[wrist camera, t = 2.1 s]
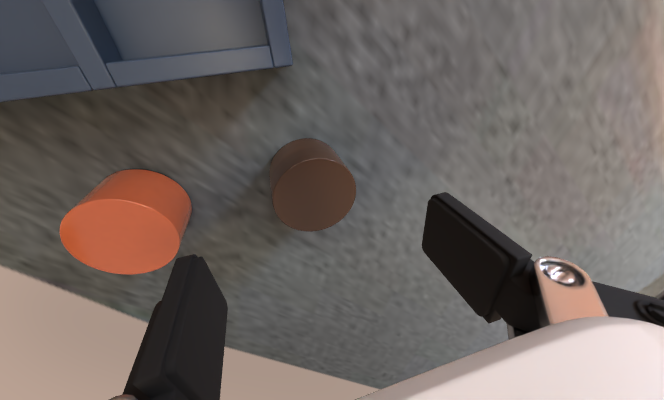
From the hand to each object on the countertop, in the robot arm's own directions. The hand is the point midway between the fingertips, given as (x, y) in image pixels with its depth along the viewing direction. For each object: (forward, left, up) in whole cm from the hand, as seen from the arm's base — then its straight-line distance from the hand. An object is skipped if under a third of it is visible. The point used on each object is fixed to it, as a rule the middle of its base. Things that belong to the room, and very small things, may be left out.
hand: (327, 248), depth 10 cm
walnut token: (0, 0, -6) cm, 6 cm away
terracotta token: (+9, 0, -6) cm, 11 cm away
